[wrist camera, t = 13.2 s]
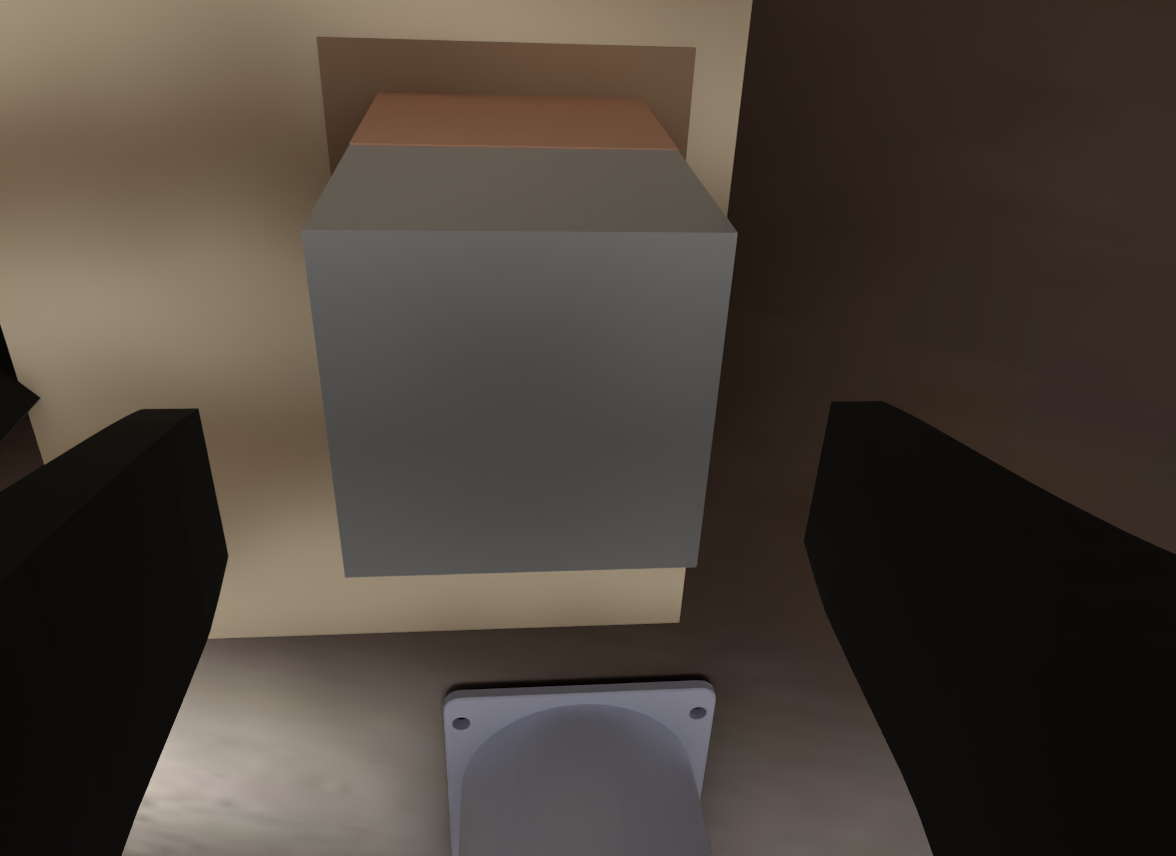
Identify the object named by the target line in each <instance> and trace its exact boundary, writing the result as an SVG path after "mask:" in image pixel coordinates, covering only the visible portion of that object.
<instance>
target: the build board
mask: <svg viewBox="0 0 1176 856" xmlns="http://www.w3.org/2000/svg"><path fill="white" fill-rule="evenodd" d="M751 9H752V0H0V324H1V328H2V331H3V334H4V337H5V340H6V344H7V347H8V350H9V353H10V356H11V360H12V363H13V366H14V369H15V372H16V376H17V379H18V381H19V382H20V383H22V384H23V385H24V386H26V387H27V388H28V389H30V390H31V391H32V392H34V393H35V394H36V395H38V396H39V397H40V400H39V401H38V402H37V403H36V404H35V405H34V406H33V407H32V409H31V410H30V411H29V412H28V414H29V417H30V420H31V424H32V427H33V430H34V433H35V436H36V440H37V443H38V446H39V449H40V452H41V456H42V459H43V462H44V465H45V464H47V463H48V462H50V461H52V460H53V459H55V458H56V457H58V456H60V455H61V454H63V453H65V452H66V451H68V450H69V449H71V448H73V447H74V446H76V445H77V444H79V443H81V442H82V441H84V440H86V439H87V438H89V437H91V436H92V435H94V434H96V433H97V432H99V431H101V430H102V429H104V428H106V427H107V426H109V425H111V424H113V423H114V422H116V421H118V420H120V419H122V418H124V417H125V416H127V415H130V414H132V413H134V412H136V411H138V410H140V409H190V408H199V413H200V418H201V423H202V428H203V433H204V438H205V443H206V448H207V452H208V457H209V462H210V467H211V472H212V477H213V482H214V487H215V492H216V497H217V502H218V506H219V511H220V516H221V521H222V526H223V531H224V536H225V541H226V546H227V551H228V556H229V557H228V561H227V565H226V570H225V574H224V578H223V583H222V587H221V592H220V596H219V600H218V604H217V608H216V612H215V615H214V619H213V623H212V627H211V631H210V634H209V636H208V639H214V638H243V637H272V636H301V635H330V634H359V633H388V632H417V631H447V630H476V629H505V628H534V627H563V626H592V625H621V624H651V623H679V620H680V611H681V603H682V594H683V586H684V577H685V569H686V567H684V568H650V569H617V570H584V571H550V572H517V573H483V574H450V575H416V576H383V577H349V578H345V573H344V565H343V557H342V550H341V542H340V534H339V526H338V518H337V510H336V502H335V494H334V486H333V478H332V470H331V463H330V455H329V447H328V439H327V431H326V423H325V415H324V407H323V399H322V391H321V383H320V376H319V368H318V360H317V352H316V344H315V336H314V328H313V320H312V312H311V304H310V297H309V289H308V281H307V273H306V265H305V257H304V249H303V241H302V233H301V229H302V228H303V226H304V224H305V222H306V221H307V219H308V217H309V215H310V213H311V212H312V210H313V208H314V206H315V205H316V203H317V201H318V199H319V198H320V196H321V194H322V192H323V190H324V189H325V187H326V185H327V183H328V182H329V180H330V178H331V176H332V175H333V173H334V171H335V169H336V167H337V166H338V164H339V162H340V160H341V159H342V157H343V155H344V153H345V152H346V150H347V148H348V146H349V145H350V141H351V139H352V137H353V136H354V134H355V132H356V130H357V129H358V127H359V125H360V123H361V122H362V120H363V118H364V116H365V115H366V113H367V111H368V109H369V108H370V106H371V104H372V102H373V101H374V99H375V97H376V95H377V94H378V92H382V93H424V94H466V95H508V96H550V97H592V98H634V99H643V101H644V102H645V104H646V105H647V106H648V108H649V109H650V110H651V112H652V113H653V115H654V116H655V117H656V119H657V120H658V121H659V123H660V124H661V126H662V127H663V128H664V130H665V131H666V132H667V134H668V135H669V137H670V138H671V139H672V141H673V142H674V143H675V145H676V146H677V148H678V151H679V152H680V154H681V155H682V156H683V158H684V159H685V161H686V162H687V163H688V165H689V166H690V167H691V169H692V170H693V172H694V173H695V174H696V176H697V177H698V179H699V180H700V181H701V183H702V184H703V185H704V187H705V188H706V190H707V191H708V192H709V194H710V195H711V197H712V198H713V199H714V201H715V202H716V203H717V205H718V206H719V208H720V209H721V210H722V212H723V213H724V215H725V216H726V217H727V212H728V204H729V195H730V187H731V178H732V170H733V161H734V153H735V144H736V136H737V127H738V119H739V110H740V102H741V93H742V85H743V76H744V68H745V60H746V51H747V43H748V34H749V26H750V17H751Z"/></svg>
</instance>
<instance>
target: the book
mask: <svg viewBox="0 0 1176 856" xmlns="http://www.w3.org/2000/svg"><path fill="white" fill-rule="evenodd" d="M39 400H40V397H39V396H38V395H36V394H35V393H34V392H32V391H31V390H30V389H28V388H27V387H26V386H24V385H23V384H22V383H20V382H19V381H18V379H17V376H16V372H15V369H14V366H13V363H12V360H11V356H10V353H9V350H8V347H7V344H6V340H5V337H4V334H3V331H2V330H0V443H1V442H2V441H3V440H4V439H5V438H6V437H7V435H8V434H9V433H10V432H11V431H12V430H13V429H14V428H15V426H16V425H17V424H18V423H19V422H20V421H21V420H22V419H23V418H24V416H25V415H26V414H27V413H28V412H29V411H30V410H31V409H32V407H33V406H34V405H35V404H36V403H37V402H38V401H39Z"/></svg>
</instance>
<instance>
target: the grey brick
mask: <svg viewBox="0 0 1176 856" xmlns="http://www.w3.org/2000/svg"><path fill="white" fill-rule="evenodd" d="M301 233H302V241H303V249H304V257H305V265H306V273H307V281H308V289H309V297H310V304H311V312H312V320H313V328H314V336H315V344H316V352H317V360H318V368H319V376H320V383H321V391H322V399H323V407H324V415H325V423H326V431H327V439H328V447H329V455H330V463H331V470H332V478H333V486H334V494H335V502H336V510H337V518H338V526H339V534H340V542H341V550H342V557H343V565H344V573H345V578H349V577H383V576H416V575H450V574H483V573H517V572H550V571H584V570H617V569H650V568H684V567H697V560H698V551H699V543H700V535H701V527H702V519H703V511H704V503H705V495H706V486H707V478H708V470H709V462H710V454H711V446H712V438H713V429H714V421H715V413H716V405H717V397H718V389H719V381H720V373H721V364H722V356H723V348H724V340H725V332H726V324H727V316H728V308H729V299H730V291H731V283H732V275H733V267H734V259H735V251H736V242H737V234H738V233H737V231H736V230H735V228H734V227H733V226H732V224H731V223H730V221H729V220H728V219H727V217H726V216H725V215H724V213H723V212H722V210H721V209H720V208H719V206H718V205H717V203H716V202H715V201H714V199H713V198H712V197H711V195H710V194H709V192H708V191H707V190H706V188H705V187H704V185H703V184H702V183H701V181H700V180H699V179H698V177H697V176H696V174H695V173H694V172H693V170H692V169H691V167H690V166H689V165H688V163H687V162H686V161H685V159H684V158H683V156H682V155H681V154H680V152H679V151H678V150H643V149H577V148H511V147H445V146H379V145H349V146H348V148H347V150H346V152H345V153H344V155H343V157H342V159H341V160H340V162H339V164H338V166H337V167H336V169H335V171H334V173H333V175H332V176H331V178H330V180H329V182H328V183H327V185H326V187H325V189H324V190H323V192H322V194H321V196H320V198H319V199H318V201H317V203H316V205H315V206H314V208H313V210H312V212H311V213H310V215H309V217H308V219H307V221H306V222H305V224H304V226H303V228H302V229H301Z"/></svg>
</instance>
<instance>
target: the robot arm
mask: <svg viewBox="0 0 1176 856" xmlns="http://www.w3.org/2000/svg"><path fill="white" fill-rule="evenodd" d="M804 543H805V547H806V550H807V554H808V557H809V561H810V564H811V568H812V571H813V575H814V578H815V581H816V585H817V588H818V591H819V594H820V597H821V600H822V603H823V606H824V609H825V612H826V614H827V617H828V619H829V621H830V623H831V626H832V628H833V630H834V632H835V634H836V636H837V639H838V641H839V643H840V645H841V647H842V649H843V651H844V654H845V656H846V658H847V660H848V662H849V664H850V666H851V669H852V671H853V673H854V675H855V677H856V679H857V681H858V683H859V685H860V687H861V689H862V691H863V694H864V696H865V698H866V700H867V702H868V704H869V706H870V708H871V710H872V712H873V714H874V716H875V719H876V721H877V723H878V725H879V727H880V729H881V731H882V733H883V735H884V737H885V739H886V742H887V744H888V746H889V748H890V750H891V752H892V754H893V756H894V758H895V760H896V762H897V765H898V767H899V769H900V771H901V773H902V775H903V778H904V780H905V782H906V785H907V787H908V789H909V792H910V794H911V797H912V799H913V801H914V804H915V806H916V808H917V811H918V813H919V816H920V819H921V822H922V825H923V828H924V830H925V833H926V836H927V839H928V842H929V845H930V847H931V850H932V853H933V856H1176V554H1174V553H1171V552H1169V551H1167V550H1164V549H1162V548H1160V547H1157V546H1155V545H1153V544H1151V543H1149V542H1147V541H1144V540H1142V539H1140V538H1138V537H1136V536H1134V535H1132V534H1129V533H1127V532H1125V531H1123V530H1121V529H1119V528H1117V527H1115V526H1113V525H1111V524H1109V523H1107V522H1105V521H1103V520H1101V519H1099V518H1097V517H1095V516H1093V515H1091V514H1090V513H1088V512H1086V511H1084V510H1082V509H1080V508H1078V507H1076V506H1074V505H1072V504H1070V503H1068V502H1066V501H1064V500H1062V499H1060V498H1058V497H1057V496H1055V495H1053V494H1051V493H1049V492H1047V491H1045V490H1044V489H1042V488H1040V487H1038V486H1036V485H1034V484H1033V483H1031V482H1029V481H1027V480H1025V479H1024V478H1022V477H1020V476H1018V475H1016V474H1015V473H1013V472H1011V471H1009V470H1008V469H1006V468H1004V467H1002V466H1001V465H999V464H997V463H995V462H994V461H992V460H990V459H988V458H987V457H985V456H983V455H981V454H980V453H978V452H976V451H974V450H973V449H971V448H969V447H967V446H966V445H964V444H962V443H960V442H959V441H957V440H955V439H954V438H952V437H950V436H948V435H947V434H945V433H943V432H941V431H940V430H938V429H936V428H934V427H932V426H931V425H929V424H927V423H925V422H923V421H922V420H920V419H918V418H916V417H914V416H912V415H910V414H908V413H906V412H905V411H902V410H900V409H898V408H896V407H894V406H892V405H889V404H887V403H885V402H882V401H861V402H831V407H830V412H829V417H828V422H827V427H826V432H825V437H824V442H823V447H822V452H821V457H820V462H819V468H818V473H817V478H816V483H815V488H814V493H813V498H812V503H811V508H810V513H809V518H808V523H807V528H806V533H805V538H804ZM228 557H229V556H228V551H227V546H226V541H225V536H224V531H223V526H222V521H221V516H220V511H219V506H218V502H217V497H216V492H215V487H214V482H213V477H212V472H211V467H210V462H209V457H208V452H207V448H206V443H205V438H204V433H203V428H202V423H201V418H200V413H199V408H190V409H140V410H138V411H136V412H134V413H132V414H130V415H127V416H125V417H124V418H122V419H120V420H118V421H116V422H114V423H113V424H111V425H109V426H107V427H106V428H104V429H102V430H101V431H99V432H97V433H96V434H94V435H92V436H91V437H89V438H87V439H86V440H84V441H82V442H81V443H79V444H77V445H76V446H74V447H73V448H71V449H69V450H68V451H66V452H65V453H63V454H61V455H60V456H58V457H56V458H55V459H53V460H52V461H50V462H48V463H47V464H45V465H43V466H42V467H40V468H38V469H37V470H35V471H34V472H32V473H30V474H29V475H27V476H25V477H24V478H22V479H20V480H19V481H17V482H16V483H14V484H12V485H11V486H9V487H7V488H6V489H4V490H3V491H1V492H0V856H122V853H123V850H124V847H125V844H126V841H127V839H128V836H129V833H130V830H131V828H132V825H133V822H134V819H135V816H136V814H137V811H138V809H139V806H140V804H141V801H142V799H143V796H144V794H145V792H146V789H147V787H148V784H149V782H150V779H151V777H152V774H153V772H154V770H155V767H156V765H157V762H158V760H159V757H160V755H161V753H162V750H163V748H164V745H165V743H166V740H167V738H168V736H169V733H170V731H171V728H172V726H173V723H174V721H175V719H176V716H177V714H178V711H179V709H180V707H181V704H182V702H183V699H184V697H185V694H186V692H187V689H188V687H189V684H190V682H191V679H192V677H193V674H194V672H195V669H196V667H197V664H198V662H199V659H200V657H201V654H202V652H203V649H204V647H205V644H206V642H207V639H208V636H209V634H210V631H211V627H212V623H213V619H214V615H215V612H216V608H217V604H218V600H219V596H220V592H221V587H222V583H223V578H224V574H225V570H226V565H227V561H228ZM715 702H716V696H715V692H714V688H713V686H712V685H711V684H710V683H708V682H706V681H700V680H695V681H670V682H646V683H621V684H597V685H572V686H547V687H523V688H498V689H474V690H458V691H453V692H452V693H450V694H448V695H447V696H446V698H445V699H444V706H443V716H444V733H445V749H446V766H447V783H448V800H449V816H450V833H451V850H452V856H712V852H711V848H710V843H709V839H708V834H707V830H706V826H705V821H704V817H703V813H702V808H701V804H700V800H701V793H702V787H703V780H704V773H705V767H706V760H707V754H708V747H709V741H710V734H711V728H712V721H713V715H714V708H715ZM696 707H700V708H698V709H694V708H696ZM460 717H462V718H467V719H462V720H461V719H457V718H460Z"/></svg>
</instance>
